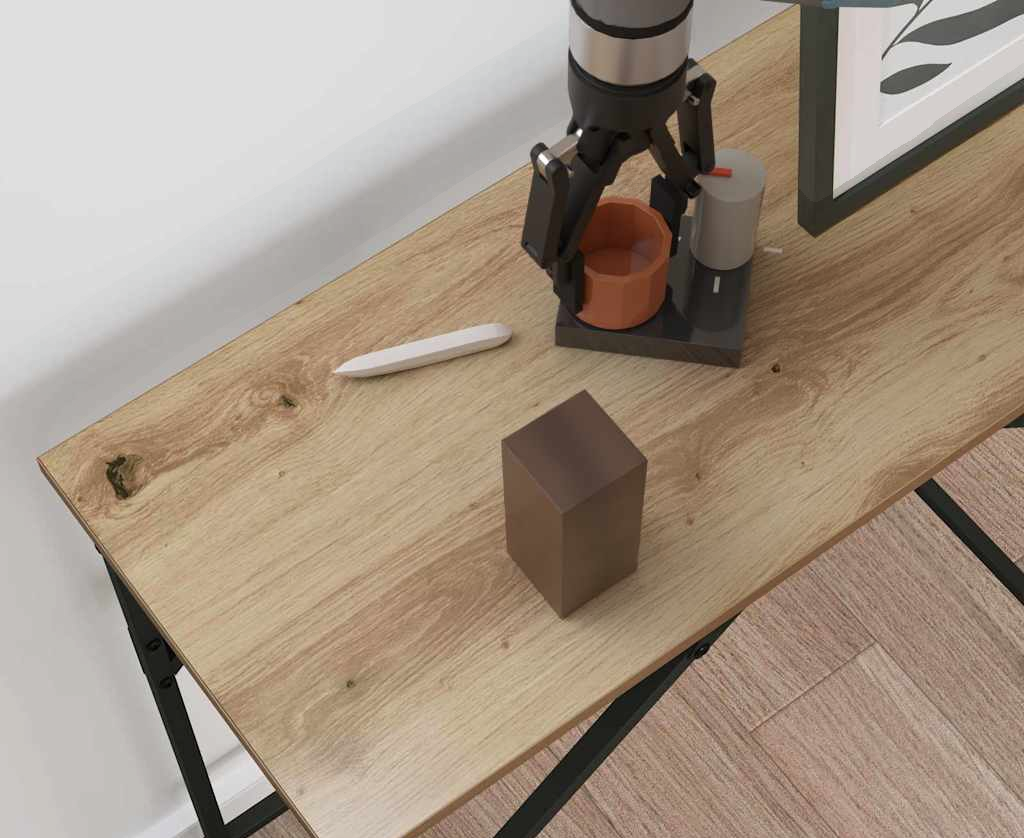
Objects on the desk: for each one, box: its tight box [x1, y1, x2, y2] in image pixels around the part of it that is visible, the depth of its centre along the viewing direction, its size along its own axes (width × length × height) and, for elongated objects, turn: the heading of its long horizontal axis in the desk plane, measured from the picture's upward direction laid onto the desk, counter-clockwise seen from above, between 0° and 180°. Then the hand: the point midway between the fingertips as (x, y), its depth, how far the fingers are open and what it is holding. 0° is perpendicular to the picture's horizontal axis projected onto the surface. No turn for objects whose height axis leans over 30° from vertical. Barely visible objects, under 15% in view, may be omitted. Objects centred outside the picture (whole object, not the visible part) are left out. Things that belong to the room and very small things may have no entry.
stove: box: [554, 214, 783, 369], centre depth 124 cm, size 16×14×3 cm
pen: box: [332, 322, 513, 378], centre depth 122 cm, size 2×14×2 cm, turn 107°
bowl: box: [576, 195, 672, 329], centre depth 119 cm, size 8×8×6 cm
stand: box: [500, 388, 649, 620], centre depth 107 cm, size 7×7×15 cm
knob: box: [689, 148, 768, 270], centre depth 120 cm, size 5×5×8 cm
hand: (615, 272), depth 120 cm, fingers closed on bowl, 8 cm apart
